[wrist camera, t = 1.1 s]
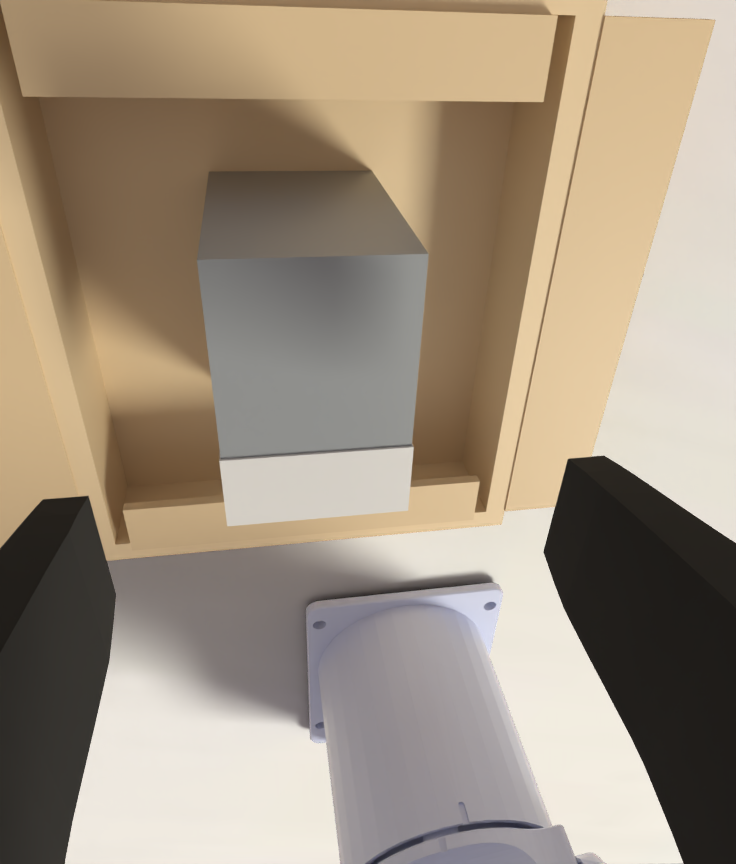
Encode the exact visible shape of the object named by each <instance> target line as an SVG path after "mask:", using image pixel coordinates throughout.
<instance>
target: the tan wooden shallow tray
mask: <svg viewBox="0 0 736 864" xmlns="http://www.w3.org/2000/svg"><path fill="white" fill-rule="evenodd" d="M607 1H608V0H0V548H1V547H2V545H3V544H4V543H5V542H6V541H7V540H8V538H9V537H10V536H11V535H12V534H13V533H14V531H15V530H16V529H17V528H18V527H19V526H20V524H21V523H22V522H23V521H24V520H25V519H26V517H27V516H28V515H29V514H30V513H31V512H32V511H33V510H34V508H35V507H36V506H37V505H38V504H39V503H40V502H41V501H42V500H43V499H54V498H67V497H80V496H89V499H90V503H91V507H92V510H93V514H94V517H95V521H96V525H97V528H98V532H99V535H100V539H101V543H102V546H103V550H104V553H105V557H106V561H111V560H121V559H132V558H143V557H154V556H165V555H176V554H186V553H197V552H208V551H219V550H230V549H241V548H252V547H262V546H273V545H284V544H295V543H306V542H317V541H328V540H338V539H349V538H360V537H371V536H382V535H393V534H403V533H414V532H425V531H436V530H447V529H458V528H469V527H479V526H490V525H501V524H502V520H503V515H504V510H505V511H514V510H525V509H536V508H547V507H555V506H556V502H557V499H558V495H559V491H560V487H561V483H562V479H563V476H564V472H565V468H566V464H567V460H568V459H569V458H582V457H591V456H592V452H593V449H594V445H595V442H596V438H597V434H598V431H599V427H600V424H601V420H602V417H603V413H604V410H605V406H606V403H607V399H608V396H609V392H610V389H611V385H612V382H613V378H614V375H615V371H616V368H617V364H618V361H619V357H620V354H621V350H622V347H623V343H624V340H625V336H626V333H627V329H628V326H629V322H630V319H631V315H632V312H633V308H634V305H635V301H636V298H637V294H638V291H639V287H640V284H641V280H642V277H643V273H644V269H645V266H646V262H647V259H648V255H649V252H650V248H651V245H652V241H653V238H654V234H655V231H656V227H657V224H658V220H659V217H660V213H661V210H662V206H663V203H664V199H665V196H666V192H667V189H668V185H669V182H670V178H671V175H672V171H673V168H674V164H675V161H676V157H677V154H678V150H679V147H680V143H681V140H682V136H683V133H684V129H685V126H686V122H687V119H688V115H689V111H690V108H691V104H692V101H693V97H694V94H695V90H696V87H697V83H698V80H699V76H700V73H701V69H702V66H703V62H704V59H705V55H706V52H707V48H708V45H709V41H710V38H711V34H712V31H713V27H714V24H715V20H710V19H686V18H655V17H625V16H604V15H605V10H606V5H607ZM219 171H372V172H373V173H374V174H375V176H376V177H377V179H378V180H379V182H380V183H381V185H382V186H383V188H384V189H385V191H386V192H387V194H388V195H389V196H390V198H391V199H392V201H393V202H394V204H395V205H396V207H397V208H398V210H399V211H400V213H401V214H402V216H403V217H404V218H405V220H406V221H407V223H408V224H409V226H410V227H411V229H412V230H413V232H414V233H415V235H416V236H417V238H418V239H419V240H420V242H421V243H422V245H423V246H424V248H425V249H426V251H427V252H428V254H429V256H428V267H427V278H426V290H425V301H424V313H423V324H422V335H421V347H420V358H419V370H418V381H417V392H416V404H415V415H414V427H413V438H412V444H413V446H414V451H413V462H412V473H411V484H410V495H409V506H408V511H399V512H387V513H376V514H364V515H353V516H341V517H330V518H318V519H307V520H295V521H284V522H272V523H261V524H249V525H238V526H227V520H226V512H225V504H224V496H223V487H222V479H221V471H220V463H219V455H220V448H219V440H218V431H217V423H216V415H215V406H214V398H213V390H212V381H211V373H210V365H209V356H208V348H207V340H206V331H205V323H204V315H203V306H202V298H201V290H200V281H199V273H198V265H197V255H198V248H199V241H200V233H201V226H202V219H203V211H204V204H205V196H206V189H207V182H208V174H209V172H219Z"/></svg>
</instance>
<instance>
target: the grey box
mask: <svg viewBox="0 0 736 864" xmlns="http://www.w3.org/2000/svg"><path fill="white" fill-rule="evenodd" d="M428 256H429V254H428V252H427V251H426V249H425V248H424V246H423V245H422V243H421V242H420V240H419V239H418V238H417V236H416V235H415V233H414V232H413V230H412V229H411V227H410V226H409V224H408V223H407V221H406V220H405V218H404V217H403V216H402V214H401V213H400V211H399V210H398V208H397V207H396V205H395V204H394V202H393V201H392V199H391V198H390V196H389V195H388V194H387V192H386V191H385V189H384V188H383V186H382V185H381V183H380V182H379V180H378V179H377V177H376V176H375V174H374V173H373V172H372V171H219V172H209V174H208V182H207V189H206V196H205V204H204V211H203V219H202V226H201V233H200V241H199V248H198V255H197V265H198V273H199V281H200V290H201V298H202V306H203V315H204V323H205V331H206V340H207V348H208V356H209V365H210V373H211V381H212V390H213V398H214V406H215V415H216V423H217V431H218V440H219V448H220V455H219V463H220V471H221V479H222V487H223V496H224V504H225V512H226V520H227V526H238V525H249V524H261V523H272V522H284V521H295V520H307V519H318V518H330V517H341V516H353V515H364V514H376V513H387V512H399V511H408V506H409V495H410V484H411V473H412V462H413V451H414V446H413V444H412V438H413V427H414V415H415V404H416V392H417V381H418V370H419V358H420V347H421V335H422V324H423V313H424V301H425V290H426V278H427V267H428Z"/></svg>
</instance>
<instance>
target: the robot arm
mask: <svg viewBox="0 0 736 864" xmlns="http://www.w3.org/2000/svg"><path fill="white" fill-rule="evenodd" d="M544 554H545V557H546V560H547V563H548V566H549V569H550V572H551V575H552V578H553V581H554V583H555V586H556V589H557V591H558V594H559V596H560V599H561V602H562V604H563V607H564V609H565V611H566V613H567V615H568V617H569V619H570V621H571V623H572V625H573V627H574V629H575V631H576V633H577V635H578V637H579V639H580V641H581V643H582V645H583V647H584V649H585V651H586V652H587V654H588V656H589V658H590V660H591V662H592V664H593V666H594V668H595V670H596V672H597V673H598V675H599V677H600V679H601V681H602V683H603V685H604V687H605V689H606V691H607V692H608V694H609V696H610V698H611V700H612V702H613V704H614V706H615V708H616V710H617V711H618V713H619V715H620V717H621V719H622V721H623V723H624V725H625V727H626V729H627V731H628V732H629V734H630V736H631V738H632V740H633V742H634V745H635V747H636V749H637V751H638V753H639V755H640V757H641V759H642V761H643V763H644V766H645V768H646V770H647V773H648V775H649V778H650V780H651V782H652V785H653V787H654V790H655V792H656V795H657V797H658V800H659V802H660V805H661V807H662V809H663V812H664V814H665V817H666V819H667V822H668V824H669V827H670V829H671V831H672V834H673V837H674V839H675V842H676V845H677V847H678V850H679V852H680V855H681V858H682V860H683V863H684V864H736V543H735V542H733V541H732V540H730V539H729V538H727V537H726V536H724V535H722V534H721V533H719V532H718V531H716V530H715V529H713V528H712V527H710V526H709V525H707V524H706V523H704V522H703V521H701V520H700V519H698V518H697V517H696V516H694V515H693V514H691V513H690V512H688V511H687V510H685V509H684V508H682V507H681V506H679V505H678V504H676V503H675V502H673V501H672V500H671V499H669V498H668V497H666V496H665V495H663V494H662V493H660V492H659V491H657V490H656V489H654V488H653V487H652V486H650V485H649V484H647V483H646V482H644V481H643V480H641V479H640V478H638V477H637V476H635V475H634V474H632V473H631V472H629V471H628V470H626V469H625V468H623V467H622V466H620V465H618V464H617V463H615V462H614V461H612V460H610V459H609V458H607V457H605V456H595V457H582V458H569V459H568V460H567V464H566V468H565V472H564V476H563V479H562V483H561V487H560V491H559V495H558V499H557V502H556V506H555V510H554V514H553V518H552V521H551V525H550V529H549V533H548V537H547V541H546V544H545V548H544ZM502 598H503V592H502V589H501V587H500V586H499V584H496V583H483V584H473V585H464V586H455V587H445V588H436V589H426V590H417V591H407V592H398V593H389V594H379V595H370V596H360V597H351V598H341V599H332V600H323V601H316V602H313V603H311V604H309V606H308V607H307V608H306V633H307V664H308V695H309V725H310V739H311V740H312V741H313V742H315V743H325V742H326V745H327V753H328V762H329V770H330V779H331V787H332V796H333V804H334V813H335V821H336V830H337V839H338V847H339V856H340V864H606V863H605V862H603V861H602V860H601V858H600V857H598V856H597V855H596V854H594V853H585V854H582V855H578V856H574V853H573V850H572V848H571V845H570V843H569V840H568V837H567V835H566V832H565V830H564V827H563V826H562V825H555V826H552V824H551V821H550V818H549V815H548V813H547V810H546V807H545V805H544V802H543V799H542V797H541V794H540V791H539V788H538V786H537V783H536V780H535V778H534V775H533V772H532V770H531V767H530V764H529V761H528V759H527V756H526V753H525V751H524V748H523V745H522V743H521V740H520V737H519V734H518V732H517V729H516V726H515V724H514V721H513V718H512V716H511V713H510V710H509V707H508V705H507V702H506V699H505V697H504V694H503V691H502V689H501V686H500V683H499V680H498V678H497V675H496V672H495V670H494V667H493V664H492V662H491V659H490V652H491V647H492V643H493V638H494V634H495V629H496V625H497V620H498V616H499V611H500V607H501V602H502ZM115 599H116V593H115V590H114V586H113V582H112V579H111V575H110V572H109V568H108V564H107V561H106V557H105V553H104V550H103V546H102V543H101V539H100V535H99V532H98V528H97V525H96V521H95V517H94V514H93V510H92V507H91V503H90V499H89V496H80V497H67V498H54V499H43V500H42V501H41V502H40V503H39V504H38V505H37V506H36V507H35V508H34V510H33V511H32V512H31V513H30V514H29V515H28V516H27V517H26V519H25V520H24V521H23V522H22V523H21V524H20V526H19V527H18V528H17V529H16V530H15V531H14V533H13V534H12V535H11V536H10V537H9V538H8V540H7V541H6V542H5V543H4V544H3V545H2V547H1V548H0V864H65V858H66V852H67V847H68V842H69V837H70V831H71V826H72V821H73V816H74V812H75V808H76V803H77V799H78V795H79V791H80V786H81V782H82V778H83V773H84V769H85V765H86V760H87V756H88V752H89V747H90V743H91V739H92V735H93V730H94V726H95V722H96V717H97V713H98V709H99V704H100V700H101V695H102V691H103V686H104V682H105V678H106V673H107V668H108V664H109V658H110V649H111V640H112V631H113V620H114V609H115Z"/></svg>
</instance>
